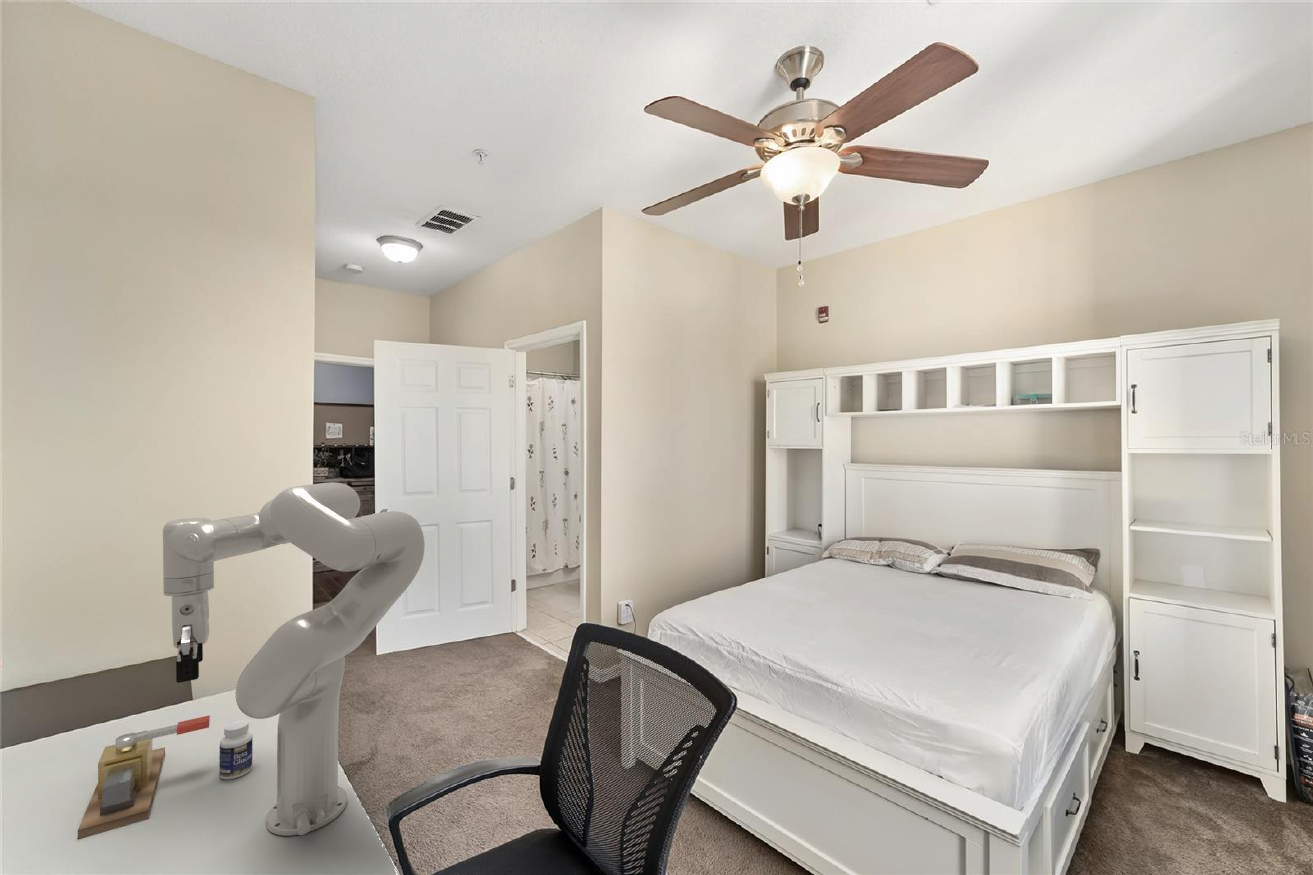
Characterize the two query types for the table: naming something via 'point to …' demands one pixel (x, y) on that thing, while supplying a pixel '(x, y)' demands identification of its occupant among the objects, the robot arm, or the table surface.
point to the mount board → (138, 812)
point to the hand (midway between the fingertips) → (190, 671)
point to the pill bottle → (235, 750)
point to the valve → (123, 775)
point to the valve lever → (161, 732)
